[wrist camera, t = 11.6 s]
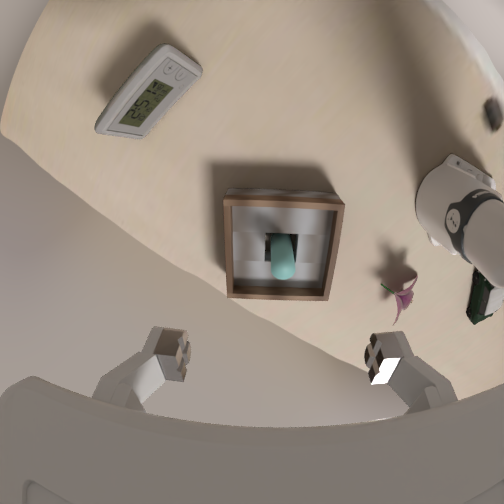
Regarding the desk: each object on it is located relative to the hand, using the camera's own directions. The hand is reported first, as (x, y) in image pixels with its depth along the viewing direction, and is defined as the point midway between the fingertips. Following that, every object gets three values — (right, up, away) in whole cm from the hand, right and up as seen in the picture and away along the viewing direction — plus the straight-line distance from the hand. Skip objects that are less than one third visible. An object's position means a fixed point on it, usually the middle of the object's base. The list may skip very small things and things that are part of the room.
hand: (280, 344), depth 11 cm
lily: (+30, -3, +42) cm, 51 cm away
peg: (+4, +6, +38) cm, 38 cm away
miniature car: (+59, -5, +41) cm, 72 cm away
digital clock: (-16, +29, +27) cm, 42 cm away
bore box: (+4, +6, +38) cm, 38 cm away
